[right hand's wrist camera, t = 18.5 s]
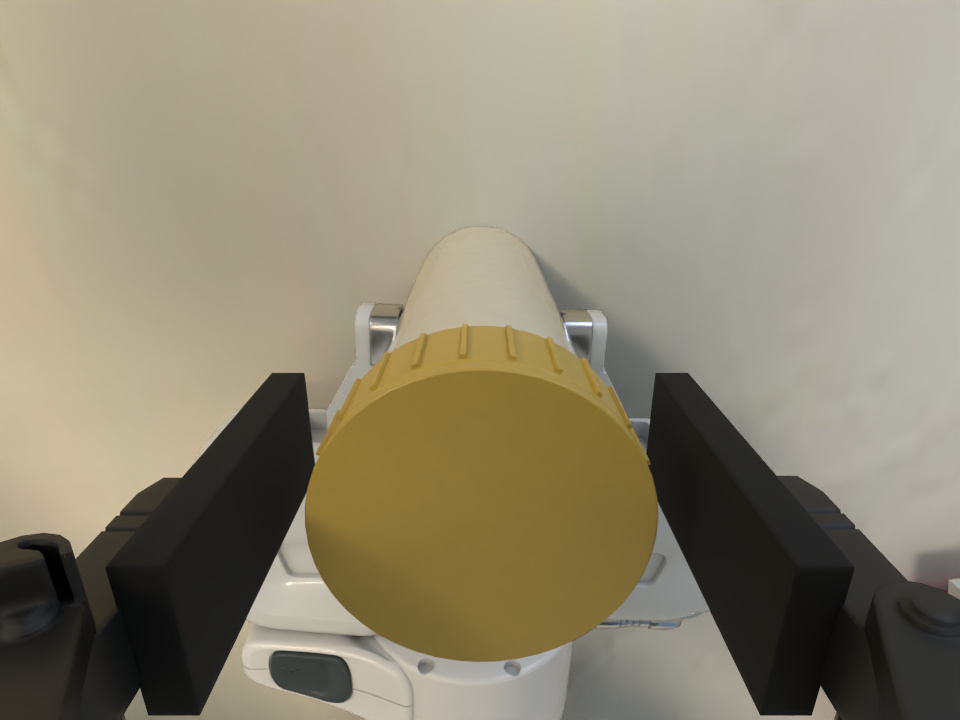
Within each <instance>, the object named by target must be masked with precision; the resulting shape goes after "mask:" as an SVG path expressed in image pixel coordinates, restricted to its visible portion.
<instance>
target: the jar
mask: <svg viewBox="0 0 960 720" xmlns="http://www.w3.org/2000/svg"><path fill="white" fill-rule="evenodd" d="M462 324H468V326H497V327H506V325H510V326H512V329H517V330H521V331H526V332H529V333H532V334H535V335H538V336H540V337H543V338H546V339H547V337H551V338H553V341H554V343H556V344H558V345H560V346H562V347H564V348H566V349H567V350H569V351H570V352H572V353H573V354H574V355H576V356H577V357H579V355H578V353H577V351H576V349H575V346H574V344H573V342H572V340H571V337H570V335H569V333H568V330H567V328H566V326H565V324H564V321H563V319H562V317H561V315H560V312H559V310H558V308H557V305H556V303H555V301H554V299H553V296H552V294H551V292H550V290H549V287H548V285H547V283H546V281H545V278H544V276H543V274H542V271H541V269H540V267H539V265H538V262H537V261H536V259H535V257H534V255H533V254H532V252H531V251H530V250H529V248H528V247H527V246H526V245H525V244H524V243H523V242H522V241H520V240H519V239H518V238H517V237H515V236H513V235H511V234H510V233H508V232H505V231H503V230H500V229H496V228H492V227H469V228H465V229H461V230H458V231H456V232H453V233H451V234H450V235H448V236H446V237H445V238H443V239H442V240H441V241H440V242H438V243H437V244H436V245H435V246H434V247H433V248H432V250H431V251H430V253H429V254H428V255H427V257H426V259H425V261H424V263H423V265H422V267H421V270H420V272H419V274H418V277H417V279H416V281H415V284H414V286H413V288H412V291H411V293H410V295H409V297H408V300H407V302H406V304H405V307H404V309H403V311H402V314H401V316H400V318H399V321H398V323H397V325H396V328H395V330H394V332H393V335H392V337H391V339H390V342H389V344H388V346H387V348H386V351H385V352H387V351H388V352H389V353H391V352H392V351H394V350H396V349H397V348H399V347H401V346H402V345H404V344H406V343H408V342H410V341H413V340H415V339H417V338H419V337H420V334H422V333H426V335H427V334H431V333H434V332H438V331H441V330H445V329H451V328H457V327H462Z"/></svg>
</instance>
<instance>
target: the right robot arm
mask: <svg viewBox="0 0 960 720" xmlns="http://www.w3.org/2000/svg"><path fill="white" fill-rule="evenodd" d="M646 454H647V456H648V458H649V460H650V464H651V465H648V467H649V469H650V472H651V474H652V477H653V481H654V485H655V490H656V494H657V501H658V503H659V505H660V507H661V510H662V512H663V514H664V516H665V518H666V520H667V522H668V524H669V526H670V528H671V530H672V532H673V535H674V537H675V539H676V541H677V543H678V545H679V547H680V549H681V551H682V553H683V555H684V557H685V560H686V562H687V564H688V566H689V568H690V570H691V572H692V574H693V576H694V578H695V580H696V582H697V585H698V587H699V589H700V591H701V593H702V595H703V597H704V599H705V601H706V603H707V605H708V607H709V610H710V612H711V614H712V616H713V618H714V620H715V622H716V624H717V626H718V628H719V630H720V632H721V635H722V637H723V639H724V641H725V643H726V645H727V647H728V649H729V651H730V653H731V655H732V657H733V660H734V662H735V664H736V666H737V668H738V670H739V672H740V674H741V676H742V678H743V680H744V682H745V685H746V687H747V689H748V691H749V693H750V695H751V697H752V699H753V701H754V703H755V705H756V707H757V710H758V712H759V714H760V715H812V712H813V709H814V706H815V702H816V699H817V695H818V692H819V689H820V685H821V687H822V689H823V690H824V692H825V693H826V695H827V697H828V698H829V700H830V702H831V703H832V705H833V706H834V708H835V710H836V711H837V713H836V716H835V719H834V720H960V599H958V598H956V597H954V596H952V595H950V594H948V593H947V592H945V591H942V590H939V589H936V588H934V587H931V586H928V585H925V584H922V583H916V582H909V581H907V580H906V579H905V577H904V576H903V575H902V574H901V573H900V572H899V571H898V570H897V569H896V568H895V567H894V566H893V565H892V564H891V563H890V562H889V561H888V560H887V559H886V558H885V556H884V555H883V554H882V553H881V552H880V551H879V550H878V549H877V548H876V547H875V546H874V545H873V544H872V543H871V542H870V541H869V540H868V539H867V538H866V536H865V535H864V534H863V533H862V532H861V531H860V530H859V529H855V525H854V524H853V523H852V522H851V521H850V520H849V519H848V518H847V517H846V515H845V514H841V513H840V509H839V508H838V507H837V506H836V505H835V504H834V503H833V502H832V501H831V500H830V499H829V498H828V497H827V496H826V494H825V493H824V492H823V491H821V490H819V489H818V488H816V487H814V486H813V485H811V484H809V483H808V482H806V481H804V480H803V479H801V478H799V477H798V476H776V475H775V474H774V472H773V471H772V470H771V469H770V468H769V467H768V466H767V464H766V463H765V462H764V461H763V460H762V459H761V457H760V456H759V455H758V454H757V453H756V452H755V450H754V449H753V448H752V447H751V446H750V445H749V443H748V442H747V441H746V440H745V439H744V438H743V436H742V435H741V434H740V433H739V432H738V431H737V429H736V428H735V427H734V426H733V425H732V424H731V423H730V421H729V420H728V419H727V418H726V417H725V416H724V414H723V413H722V412H721V411H720V410H719V409H718V407H717V406H716V405H715V404H714V403H713V402H712V400H711V399H710V398H709V397H708V396H707V395H706V393H705V392H704V391H703V390H702V389H701V388H700V386H699V385H698V384H697V383H696V382H695V381H694V380H693V378H692V377H691V376H690V375H689V374H688V373H656V375H655V383H654V392H653V400H652V409H651V417H650V425H649V434H648V442H647V451H646ZM314 466H315V459H314V451H313V442H312V434H311V425H310V417H309V409H308V400H307V392H306V383H305V375H304V373H272V374H271V375H270V376H269V377H268V378H267V380H266V381H265V382H264V383H263V384H262V385H261V386H260V388H259V389H258V390H257V391H256V392H255V393H254V395H253V396H252V397H251V398H250V399H249V400H248V402H247V403H246V404H245V405H244V406H243V407H242V409H241V410H240V411H239V412H238V413H237V414H236V416H235V417H234V418H233V419H232V420H231V421H230V423H229V424H228V425H227V426H226V427H225V428H224V429H223V431H222V432H221V433H220V434H219V435H218V436H217V438H216V439H215V440H214V441H213V442H212V443H211V445H210V446H209V447H208V448H207V449H206V450H205V452H204V453H203V454H202V455H201V456H200V457H199V459H198V460H197V461H196V462H195V463H194V464H193V466H192V467H191V468H190V469H189V470H188V471H187V472H186V474H185V475H184V476H183V477H182V478H162V479H161V480H159V481H157V482H156V483H154V484H153V485H151V486H149V487H148V488H146V489H144V490H143V491H141V492H139V493H138V494H137V495H136V496H135V497H134V498H133V499H132V500H131V501H130V502H129V503H128V504H127V505H126V506H125V508H124V509H123V510H122V511H121V512H120V516H116V517H115V518H114V519H113V520H112V521H111V522H110V523H109V524H108V526H107V527H106V530H105V531H102V532H101V533H100V534H99V535H98V536H97V537H96V538H95V539H94V540H93V541H92V542H91V543H90V545H89V546H88V547H87V548H86V549H85V550H84V551H83V552H82V553H81V554H80V555H79V556H78V557H77V558H76V559H75V557H74V553H73V550H72V547H71V544H70V541H68V540H67V539H65V538H64V537H62V536H61V535H56V534H48V533H40V534H32V535H25V536H20V537H17V538H13V539H10V540H7V541H3V542H0V720H126V719H125V716H124V713H125V711H126V710H127V708H128V706H129V705H130V703H131V701H132V700H133V698H134V697H135V695H136V693H137V692H138V690H139V688H140V689H141V692H142V695H143V699H144V702H145V706H146V709H147V712H148V715H200V714H201V712H202V710H203V707H204V705H205V703H206V701H207V699H208V697H209V695H210V693H211V691H212V689H213V687H214V685H215V682H216V680H217V678H218V676H219V674H220V672H221V670H222V668H223V666H224V664H225V662H226V660H227V657H228V655H229V653H230V651H231V649H232V647H233V645H234V643H235V641H236V639H237V637H238V635H239V632H240V630H241V628H242V626H243V624H244V622H245V620H246V618H247V616H248V614H249V612H250V610H251V607H252V605H253V603H254V601H255V599H256V597H257V595H258V593H259V591H260V589H261V587H262V585H263V582H264V580H265V578H266V576H267V574H268V572H269V570H270V568H271V566H272V564H273V562H274V560H275V557H276V555H277V553H278V551H279V549H280V547H281V545H282V543H283V541H284V539H285V537H286V535H287V532H288V530H289V528H290V526H291V524H292V522H293V520H294V518H295V516H296V514H297V512H298V510H299V507H300V505H301V503H302V501H303V499H304V497H305V495H306V493H307V488H308V484H309V481H310V478H311V475H312V472H313V469H314Z"/></svg>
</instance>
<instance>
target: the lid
mask: <svg viewBox="0 0 960 720" xmlns="http://www.w3.org/2000/svg"><path fill="white" fill-rule="evenodd" d="M316 455H318V456H319V458H318V460H317V462H316V464H315V466H314V469H313V472H312V475H311V478H310V481H309V484H308V488H307V495H306V502H305V529H306V534H307V540H308V546H309V549H310V552H311V555H312V558H313V561H314V564H315V566H316V568H317V570H318V572H319V574H320V576H321V578H322V580H323V581H324V583H325V584H326V586H327V587H328V589H329V590H330V591H331V593H332V594H333V596H334V597H335V598H336V599H337V600H338V601H339V603H340V604H341V605H342V606H343V607H344V608H345V609H346V610H347V611H348V612H349V613H350V614H351V615H352V616H354V617H355V618H356V619H357V620H358V621H359V622H361V623H362V624H363V625H365V626H366V627H368V628H369V629H371V630H372V631H374V632H375V633H377V634H378V635H380V636H382V637H384V638H386V639H388V640H389V641H391V642H393V643H395V644H397V645H400V646H403V647H405V648H408V649H410V650H413V651H415V652H419V653H422V654H426V655H430V656H433V657H438V658H444V659H449V660H455V661H469V662H497V661H505V660H514V659H520V658H524V657H529V656H533V655H538V654H541V653H544V652H547V651H550V650H553V649H556V648H558V647H560V646H562V645H565V644H567V643H569V642H571V641H574V640H576V639H577V638H579V637H581V636H582V635H584V634H586V633H587V632H589V631H591V630H592V629H594V628H595V627H596V626H598V625H599V624H600V623H602V622H603V621H604V620H606V619H607V618H608V617H609V616H610V615H611V614H612V613H614V612H615V611H616V610H617V609H618V608H619V607H620V606H621V605H622V604H623V603H624V601H625V600H626V599H627V598H628V596H629V595H630V594H631V593H632V591H633V590H634V589H635V587H636V585H637V584H638V582H639V580H640V579H641V577H642V575H643V574H644V572H645V570H646V567H647V565H648V562H649V560H650V558H651V555H652V552H653V548H654V544H655V540H656V536H657V526H658V502H657V494H656V490H655V485H654V481H653V477H652V474H651V472H650V469H649V467H648V465H651V464H650V460H649V458H648V456H647V454H646V452H645V450H644V449H643V447H642V445H641V443H640V441H639V439H638V437H637V435H636V433H635V431H634V429H633V426H632V424H631V422H630V420H629V418H628V416H627V414H626V412H625V410H624V408H623V406H622V404H621V403H620V401H619V399H618V397H617V395H616V393H615V391H614V389H613V388H612V386H609V387H607V386H606V385H605V383H604V382H603V381H602V380H601V378H600V377H599V376H598V375H597V373H596V372H595V371H593V370H592V369H591V367H590V365H589V363H588V361H587V359H585V358H584V357H583V358H582V359H580V358H579V357H577V356H576V355H574V354H573V353H572V352H570V351H569V350H567V349H566V348H564V347H562V346H560V345H558V344H556V343H554V341H553V338H551V337H547V339H546V338H543V337H540V336H538V335H535V334H532V333H529V332H526V331H521V330H517V329H512V326H510V325H506V327H497V326H468V324H462V327H457V328H451V329H445V330H441V331H438V332H434V333H431V334H427V335H426V333H422V334H420V337H419V338H417V339H415V340H413V341H410V342H408V343H406V344H404V345H402V346H401V347H399V348H397V349H396V350H394V351H392V352H391V353H389V352H388V351H387V352H385V353H384V354H383V356H382V358H381V360H380V361H379V362H378V363H377V364H375V365H374V366H373V367H372V368H371V369H370V370H369V371H368V372H367V373H366V374H365V376H364V377H363V378H362V379H361V380H360V379H359V378H357V379H356V380H355V382H354V384H353V386H352V388H351V390H350V392H349V394H348V396H347V398H346V400H345V402H344V404H343V406H342V408H341V410H337V412H336V414H335V416H334V418H333V420H332V422H331V424H330V426H329V428H328V430H327V432H326V434H325V436H324V438H323V440H322V442H321V444H320V446H319V448H318V450H317V452H316Z"/></svg>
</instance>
